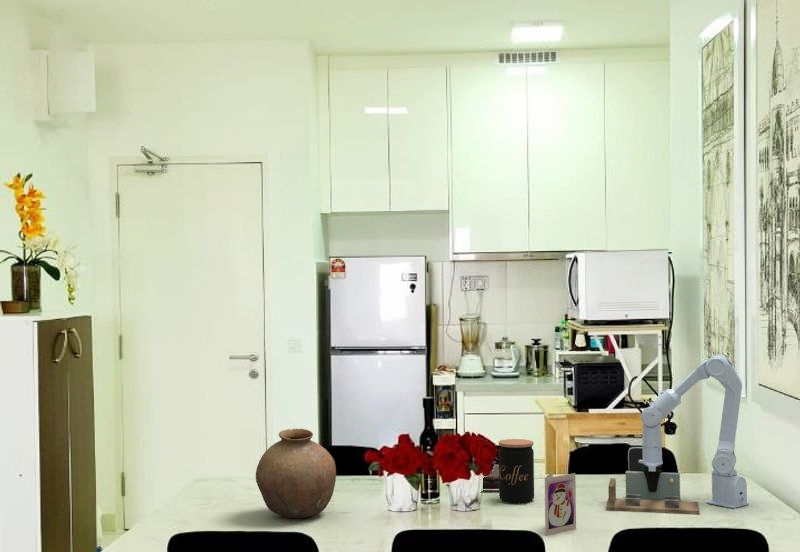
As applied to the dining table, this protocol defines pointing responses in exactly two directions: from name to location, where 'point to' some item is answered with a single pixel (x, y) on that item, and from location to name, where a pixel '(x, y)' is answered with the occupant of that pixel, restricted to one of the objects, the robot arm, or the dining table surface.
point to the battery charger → (635, 459)
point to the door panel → (666, 486)
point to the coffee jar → (516, 471)
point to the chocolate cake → (492, 481)
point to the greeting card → (560, 503)
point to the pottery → (296, 475)
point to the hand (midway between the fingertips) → (652, 490)
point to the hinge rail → (648, 503)
